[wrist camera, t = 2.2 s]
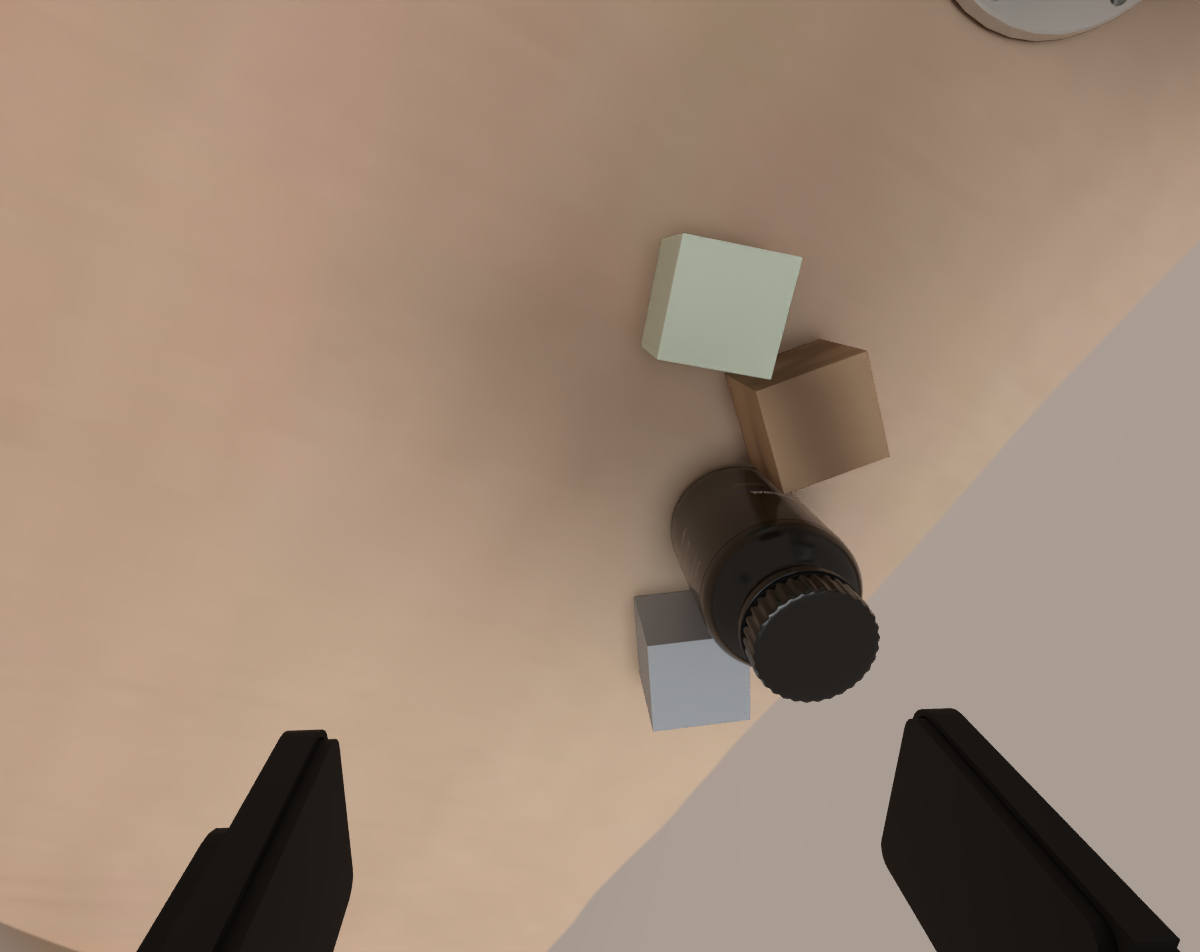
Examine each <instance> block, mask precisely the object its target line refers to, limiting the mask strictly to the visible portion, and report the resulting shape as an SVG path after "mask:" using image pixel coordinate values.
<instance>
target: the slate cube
mask: <svg viewBox="0 0 1200 952" xmlns="http://www.w3.org/2000/svg"><path fill="white" fill-rule="evenodd" d="M634 604H635V618H636V632H637V646H638V659H639V673H640V677H641V682H642V686H643V690H644V695H645V699H646V703H647V707H648V712H649V716H650V720H651V725H652V729H653V732H654V731H662V730H670V729H678V728H686V727H694V726H702V725H710V724H718V723H727V722H735V721H743V720H750V666H748V665H745V664H743V663H741V662H739V661H737V660H735V659H734V658H732V657H730V656H729V655H728V654H726V653H725V652H724V651H723V650H722V649H721V648H720V647H719V646H718V645H717V644H716V642H715V641H714V640H713V638H712V637H711V635H710V633H709V631H708V629H707V628H706V626H705V623H704V621H703V619H702V616H701V614H700V612H699V609H698V607H697V604H696V602H695V600H694V597H693V595H692V592H691V590H689V591H680V592H671V593H662V594H653V595H645V596H636V597H634Z"/></svg>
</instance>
